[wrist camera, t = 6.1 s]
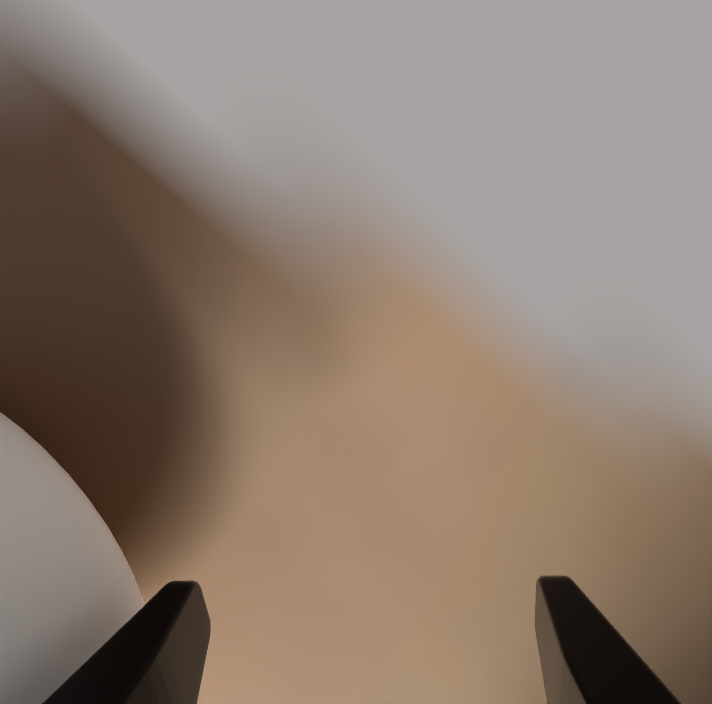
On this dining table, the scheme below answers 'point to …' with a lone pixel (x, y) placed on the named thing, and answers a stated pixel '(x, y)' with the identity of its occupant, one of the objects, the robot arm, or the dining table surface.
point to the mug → (52, 573)
